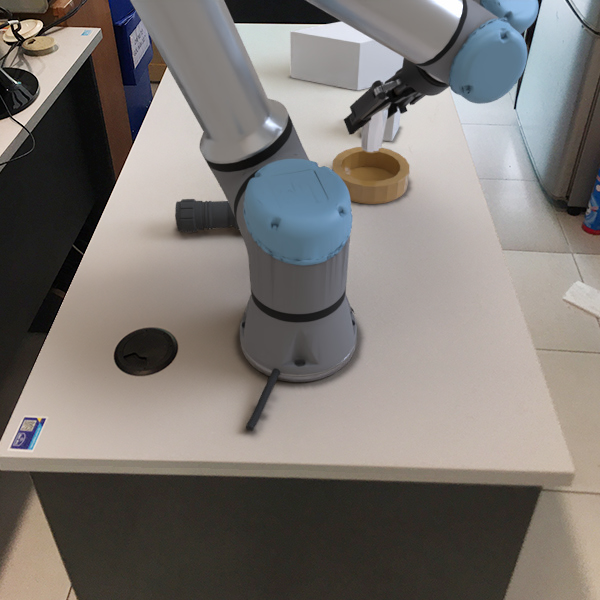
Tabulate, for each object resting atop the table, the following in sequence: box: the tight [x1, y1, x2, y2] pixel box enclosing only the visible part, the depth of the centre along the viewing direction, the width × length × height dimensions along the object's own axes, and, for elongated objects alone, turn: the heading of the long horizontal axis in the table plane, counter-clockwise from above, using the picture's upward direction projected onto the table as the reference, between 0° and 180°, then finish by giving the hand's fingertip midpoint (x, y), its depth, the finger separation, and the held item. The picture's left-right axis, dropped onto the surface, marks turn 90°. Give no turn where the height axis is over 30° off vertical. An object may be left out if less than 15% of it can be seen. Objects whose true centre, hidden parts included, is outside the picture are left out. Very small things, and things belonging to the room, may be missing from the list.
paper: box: [289, 21, 404, 91], centre depth 140 cm, size 14×29×10 cm, turn 92°
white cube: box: [383, 108, 402, 143], centre depth 122 cm, size 6×6×6 cm
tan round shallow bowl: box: [331, 146, 410, 205], centre depth 109 cm, size 13×13×4 cm
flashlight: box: [174, 198, 240, 234], centre depth 99 cm, size 15×5×5 cm, turn 93°
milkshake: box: [360, 105, 390, 153], centre depth 103 cm, size 4×5×10 cm
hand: (361, 122), depth 106 cm, fingers closed on milkshake, 5 cm apart
